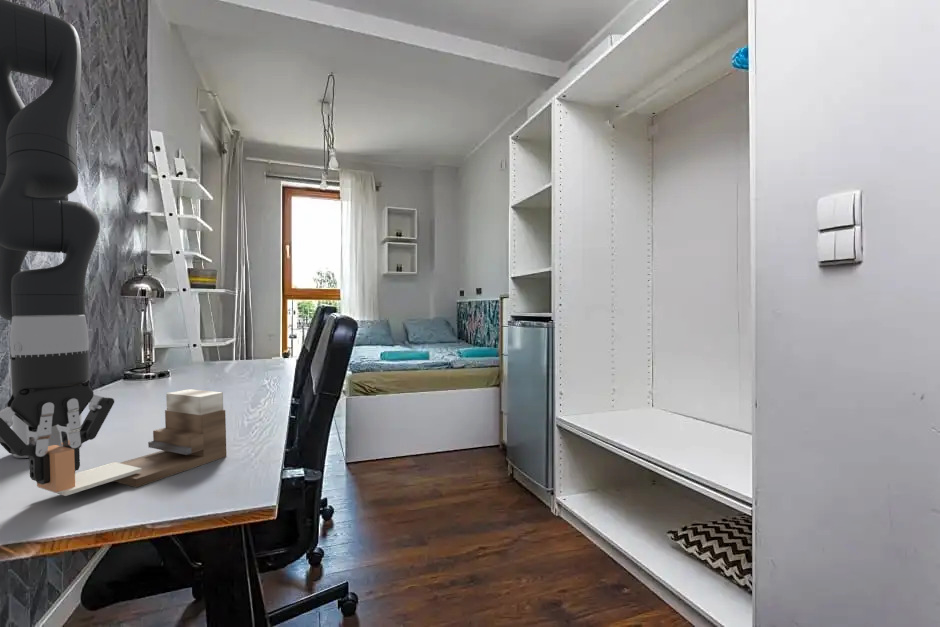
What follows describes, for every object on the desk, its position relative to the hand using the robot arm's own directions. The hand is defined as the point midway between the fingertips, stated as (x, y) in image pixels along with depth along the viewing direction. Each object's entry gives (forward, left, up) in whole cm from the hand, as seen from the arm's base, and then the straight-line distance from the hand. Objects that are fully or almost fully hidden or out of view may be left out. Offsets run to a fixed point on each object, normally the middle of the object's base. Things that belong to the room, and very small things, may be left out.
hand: (55, 478), depth 59 cm
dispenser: (0, +15, -3) cm, 15 cm away
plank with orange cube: (0, +4, -2) cm, 4 cm away
